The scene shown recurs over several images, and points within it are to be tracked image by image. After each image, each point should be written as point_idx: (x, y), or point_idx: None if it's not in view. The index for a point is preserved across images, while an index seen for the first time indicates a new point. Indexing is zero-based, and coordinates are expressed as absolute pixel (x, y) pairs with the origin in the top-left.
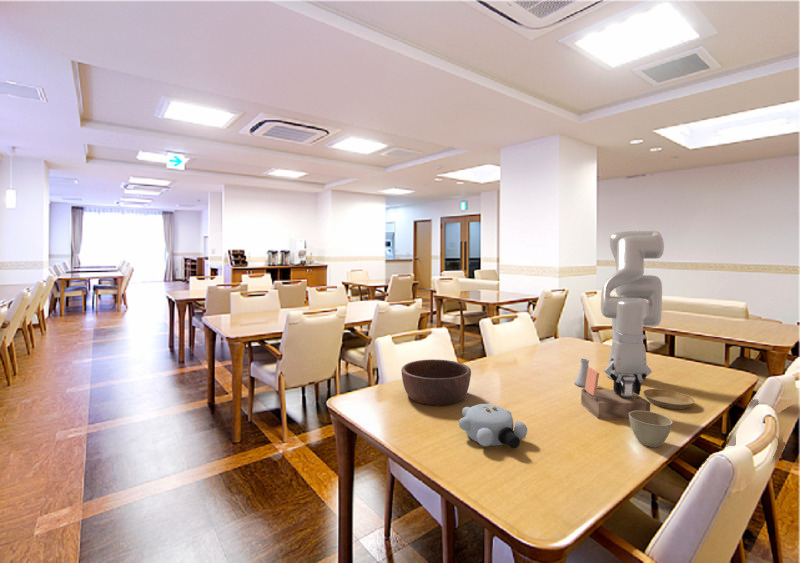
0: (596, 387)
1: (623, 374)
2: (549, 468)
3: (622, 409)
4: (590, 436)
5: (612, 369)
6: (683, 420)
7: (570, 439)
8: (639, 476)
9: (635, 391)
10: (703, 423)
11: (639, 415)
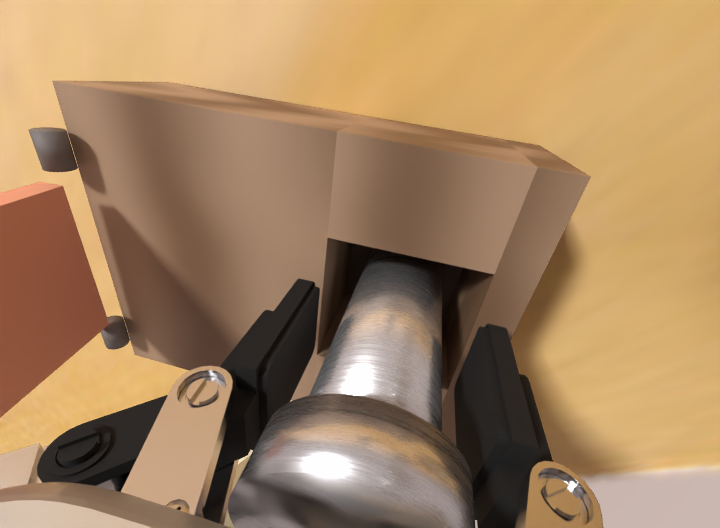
0: (42, 375)
1: (309, 512)
2: (29, 444)
3: None
4: (129, 390)
5: (59, 501)
6: (617, 424)
7: (71, 384)
8: None
9: (463, 381)
10: (681, 469)
11: None
